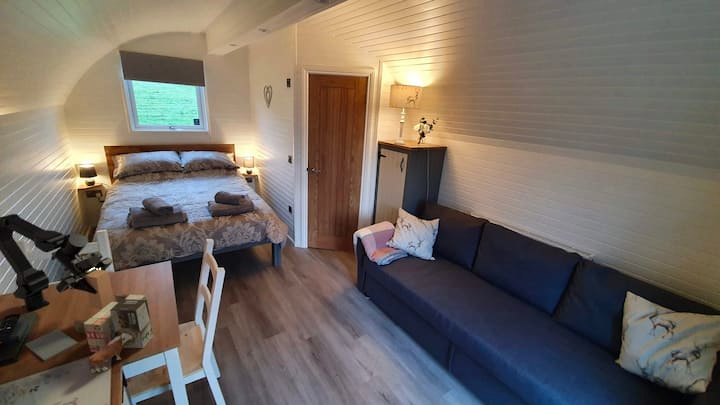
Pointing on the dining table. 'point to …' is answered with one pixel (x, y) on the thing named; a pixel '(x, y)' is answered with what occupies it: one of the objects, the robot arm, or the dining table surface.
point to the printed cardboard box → (103, 326)
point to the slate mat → (51, 344)
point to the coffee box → (132, 322)
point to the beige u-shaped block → (80, 323)
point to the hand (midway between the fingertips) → (102, 289)
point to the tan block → (100, 288)
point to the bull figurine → (108, 352)
